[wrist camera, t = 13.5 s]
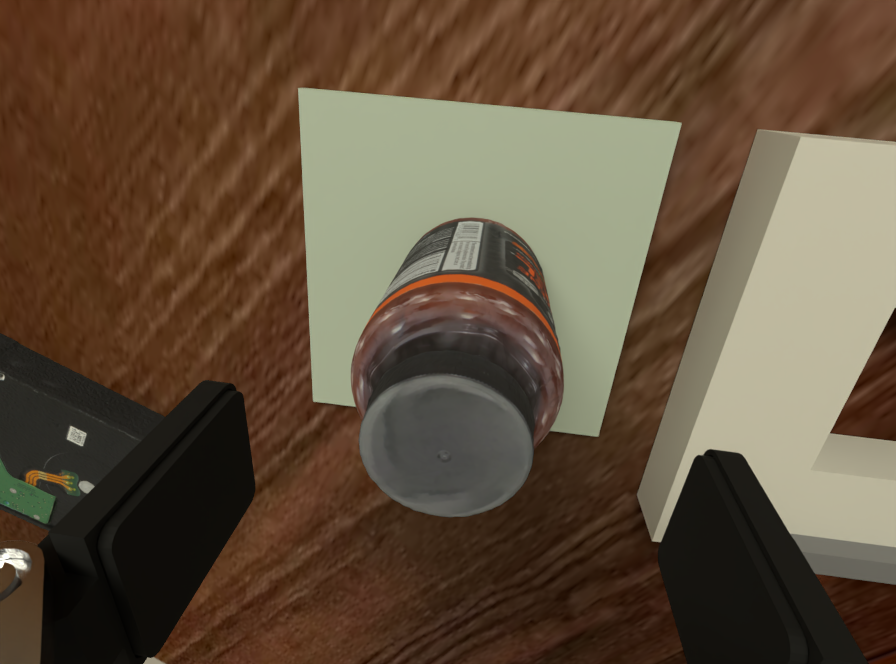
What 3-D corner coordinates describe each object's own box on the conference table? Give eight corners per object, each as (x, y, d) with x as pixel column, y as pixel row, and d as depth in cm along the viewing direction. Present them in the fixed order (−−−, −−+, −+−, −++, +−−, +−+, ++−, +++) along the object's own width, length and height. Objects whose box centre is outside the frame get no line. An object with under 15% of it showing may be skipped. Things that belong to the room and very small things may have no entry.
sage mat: (305, 87, 19) (298, 87, 19) (674, 121, 19) (681, 123, 18) (318, 392, 26) (313, 401, 25) (595, 426, 25) (598, 436, 24)
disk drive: (229, 435, 28) (-37, 306, 26) (203, 469, 26) (-94, 330, 24) (179, 542, 33) (-53, 439, 30) (152, 580, 30) (-103, 471, 28)
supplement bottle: (565, 314, 22) (621, 515, 11) (443, 364, 23) (397, 578, 13) (507, 185, 20) (512, 292, 9) (377, 250, 21) (262, 401, 11)
